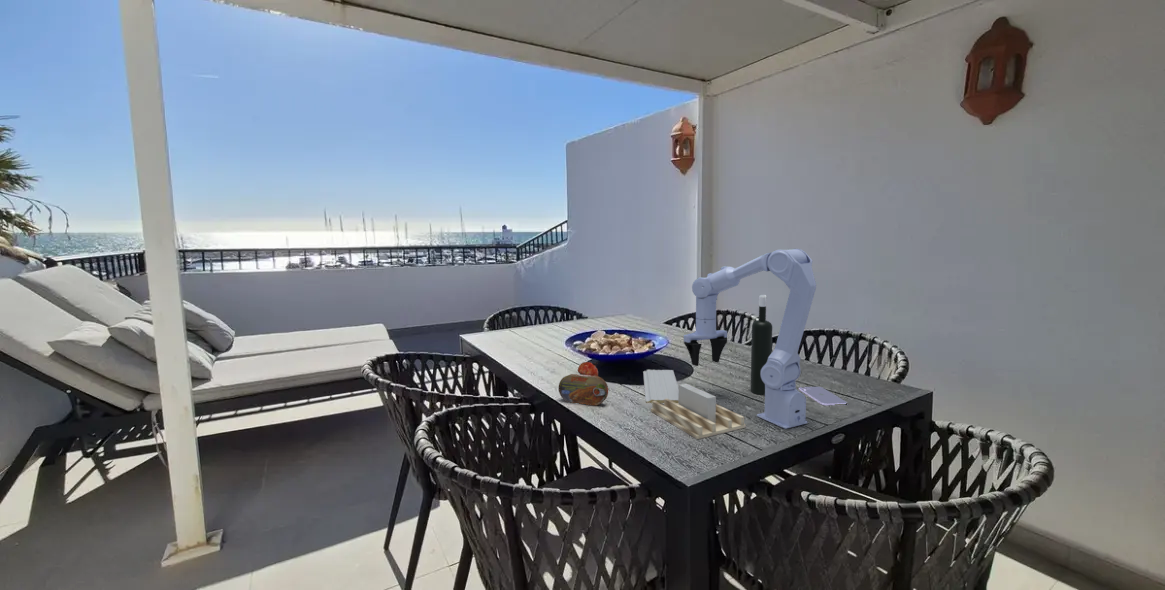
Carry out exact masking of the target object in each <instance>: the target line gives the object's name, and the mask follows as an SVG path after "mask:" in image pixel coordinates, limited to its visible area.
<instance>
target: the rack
mask: <svg viewBox="0 0 1165 590" xmlns="http://www.w3.org/2000/svg"><path fill="white" fill-rule="evenodd" d="M651 404H652V405H651V406H652V407H651V408H650V412H651V413H653V414H654V415H656V416H658V417H660V419H662V420H664V421H666V422H668V423H669V424H671V425H672V426H675V427H676V428H678V429H679V430H681V431H683V432H684V433H686V434H687V435H690V436H691V437H693V438H694V439H696V440H700V439H701V440H702V439H705V438H710V437H712V436H716V435H721V434H724V433H729V432H732V431H733V432H734V431H737V430H742V429H745V428H746V427H747V425H746V423H745V416H743V415H741V414H739V413H736V412H734V411H732V410H730V409H728V408H726V407H724V406H722V405H720V404H717V403H716V424H715V423H714V422H712V421H710V420H708V419H706V418H704V417H702V416H700V415H698V414H696V413H694V412H692V411H691V410H689V409H687V408H685V407H683V406H681V405H679V403H675V402H673V401H671V400H669V399H664V403H658V402H657V401H652V403H651Z"/></svg>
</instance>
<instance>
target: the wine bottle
mask: <svg viewBox="0 0 1165 590" xmlns="http://www.w3.org/2000/svg"><path fill="white" fill-rule="evenodd" d="M767 299H768V296H767V294H759V296H758V320H755V321H754V322H752V325H751V346H750V347H751V349H750V351H751V353H750V354H751V355H750V356H751V357H750V387H749V388H750V392H751V393H752V394H755V395H758V396H765V384H764V382H763V381H762V379H761V374H760V373H761V369H762V367H763V366H764V365H765V364H766V363H767V360H768V357H769V356H770V354H771V353H772V352H773V350H772V348H773V324H772V322H770V321H769V320H767V319H766V318H767Z"/></svg>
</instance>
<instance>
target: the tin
mask: <svg viewBox="0 0 1165 590" xmlns="http://www.w3.org/2000/svg"><path fill="white" fill-rule="evenodd" d="M558 393H559V395H560V397H561V399H563V401H565V402H567V403H568V402H571V403H570V404H574V403H579V404H578V405H583V404H586V405H585V406H593V407H594V406H599V405H602V404H603V403H604V401H606V399H607V398H608V395H609V386H608V383H607V382H606V380H604V378H603V377H600V376H599V375H598V376H590V375H580V374H579V373H578V374H576V373H570V374H568V375H565V376H563V377H562V378H561V379H560V381H559V383H558Z"/></svg>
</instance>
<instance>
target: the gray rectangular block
mask: <svg viewBox="0 0 1165 590" xmlns="http://www.w3.org/2000/svg"><path fill="white" fill-rule="evenodd" d="M678 388H679V405H681V406H683V407H685V408H687V409H689V410H691V411H692V412H694V413H696V414H698V415H700V416H702V417H704V418H706V419H708V420H710V421H712V422H714V423H715V424H716V404H717V396H715V395H713V394H711V393H708V392H707V391H704V390H701V389H700V388H697V387H695V386H692V385H690V384H688V383H681V384H678Z"/></svg>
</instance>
